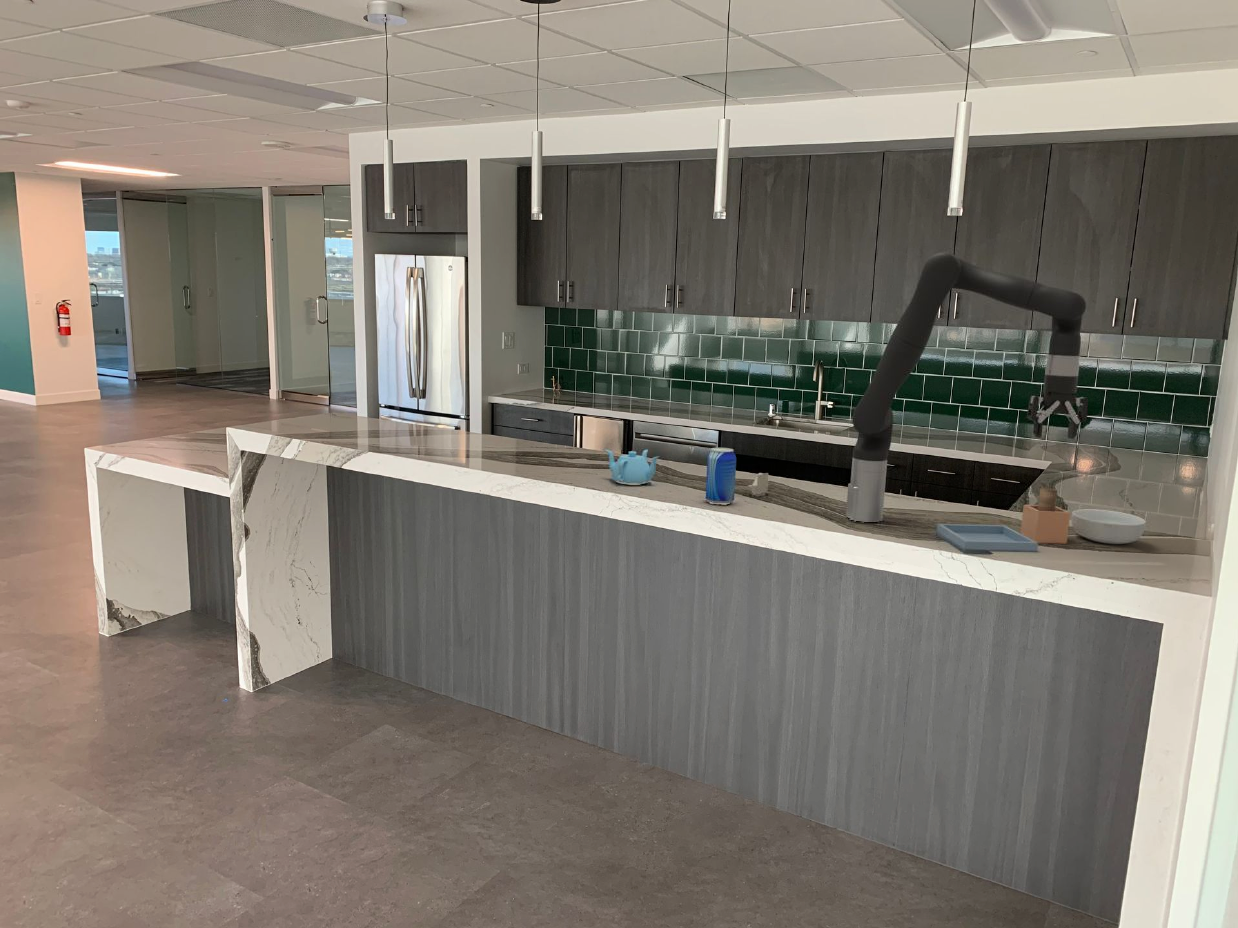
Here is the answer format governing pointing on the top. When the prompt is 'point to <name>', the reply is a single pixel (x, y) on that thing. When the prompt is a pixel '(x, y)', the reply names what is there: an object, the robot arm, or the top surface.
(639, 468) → the teapot
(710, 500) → the beer can
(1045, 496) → the walnut peg
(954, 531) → the slate-blue tray
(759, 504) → the top surface
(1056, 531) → the terracotta open box
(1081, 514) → the cereal bowl
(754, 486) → the architectural model
